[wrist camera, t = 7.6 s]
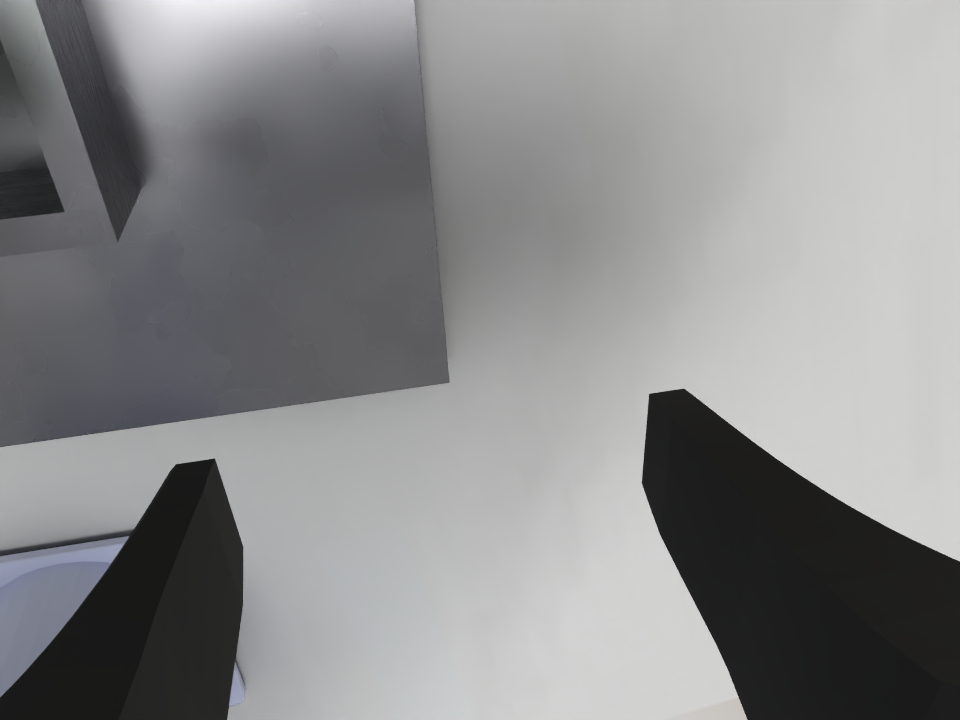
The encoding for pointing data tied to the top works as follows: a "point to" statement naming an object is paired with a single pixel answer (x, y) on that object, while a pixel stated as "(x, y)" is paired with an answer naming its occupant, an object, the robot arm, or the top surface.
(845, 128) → the top surface
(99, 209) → the post base
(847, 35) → the top surface
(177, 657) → the robot arm
